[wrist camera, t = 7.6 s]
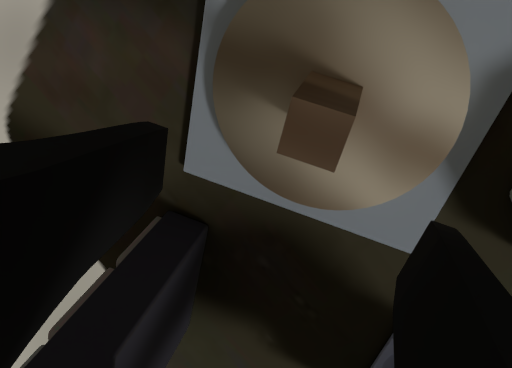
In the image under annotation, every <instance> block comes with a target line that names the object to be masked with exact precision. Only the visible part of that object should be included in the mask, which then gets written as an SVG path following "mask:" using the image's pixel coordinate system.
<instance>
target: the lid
mask: <svg viewBox="0 0 512 368" xmlns="http://www.w3.org/2000/svg"><path fill="white" fill-rule="evenodd" d="M469 98H470V69H469V62H468V56H467V52H466V49H465V46H464V43H463V39H462V37H461V35H460V33H459V31H458V29H457V27H456V25H455V22H454V21H453V19H452V18H451V16H450V15H449V13H448V12H447V11H446V9H445V8H444V6H443V5H442V4H441V3H440V2H439V1H438V0H247V1H246V2H245V3H244V4H243V6H242V7H241V8H240V9H239V10H238V12H237V13H236V15H235V16H234V18H233V19H232V21H231V22H230V24H229V26H228V28H227V30H226V32H225V34H224V36H223V38H222V41H221V43H220V46H219V49H218V52H217V56H216V61H215V65H214V73H213V101H214V107H215V113H216V116H217V120H218V124H219V127H220V129H221V132H222V134H223V137H224V139H225V141H226V143H227V144H228V146H229V148H230V150H231V152H232V153H233V154H234V156H235V157H236V159H237V160H238V161H239V163H240V164H241V165H242V166H243V167H244V168H245V170H246V171H247V172H248V173H249V174H250V175H251V176H252V177H254V178H255V179H256V180H257V181H258V182H259V183H261V184H262V185H263V186H265V187H266V188H268V189H269V190H270V191H272V192H274V193H276V194H278V195H279V196H281V197H283V198H285V199H288V200H290V201H293V202H295V203H298V204H301V205H305V206H308V207H313V208H318V209H324V210H355V209H362V208H368V207H371V206H375V205H379V204H382V203H385V202H387V201H390V200H392V199H395V198H397V197H399V196H401V195H403V194H405V193H406V192H408V191H410V190H411V189H413V188H414V187H416V186H417V185H419V184H420V183H421V182H423V181H424V180H425V179H426V178H427V177H428V176H429V175H430V174H432V173H433V172H434V171H435V170H436V169H437V167H438V166H439V165H440V164H441V163H442V162H443V160H444V159H445V158H446V156H447V155H448V153H449V152H450V150H451V149H452V147H453V146H454V144H455V142H456V140H457V138H458V136H459V134H460V132H461V130H462V127H463V124H464V121H465V117H466V114H467V111H468V104H469Z"/></svg>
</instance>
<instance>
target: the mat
mask: <svg viewBox="0 0 512 368" xmlns="http://www.w3.org/2000/svg"><path fill="white" fill-rule="evenodd" d="M246 1H247V0H206V1H205V8H204V16H203V24H202V32H201V39H200V47H199V55H198V63H197V70H196V78H195V86H194V94H193V101H192V109H191V117H190V125H189V132H188V140H187V148H186V156H185V163H184V171H185V172H187V173H190V174H193V175H196V176H198V177H201V178H204V179H207V180H209V181H212V182H215V183H218V184H220V185H223V186H226V187H229V188H231V189H234V190H237V191H240V192H242V193H245V194H248V195H251V196H253V197H256V198H259V199H262V200H264V201H267V202H270V203H273V204H275V205H278V206H281V207H284V208H286V209H289V210H292V211H295V212H298V213H300V214H303V215H306V216H309V217H311V218H314V219H317V220H320V221H322V222H325V223H328V224H331V225H333V226H336V227H339V228H342V229H344V230H347V231H350V232H353V233H355V234H358V235H361V236H364V237H366V238H369V239H372V240H375V241H377V242H380V243H383V244H386V245H388V246H391V247H394V248H397V249H399V250H402V251H405V252H408V253H410V254H411V253H412V251H413V250H414V248H415V246H416V245H417V243H418V241H419V239H420V238H421V236H422V234H423V233H424V231H425V229H426V228H427V226H428V224H429V223H430V221H431V220H432V221H434V220H435V218H436V217H437V215H438V213H439V212H440V210H441V208H442V207H443V205H444V203H445V202H446V200H447V198H448V197H449V195H450V193H451V192H452V190H453V188H454V187H455V185H456V183H457V182H458V180H459V178H460V177H461V175H462V173H463V172H464V170H465V168H466V167H467V165H468V163H469V162H470V160H471V158H472V157H473V155H474V153H475V152H476V150H477V148H478V147H479V145H480V143H481V142H482V140H483V138H484V137H485V135H486V133H487V132H488V130H489V128H490V127H491V125H492V124H493V122H494V120H495V119H496V117H497V115H498V114H499V112H500V110H501V109H502V107H503V105H504V104H505V102H506V100H507V99H508V97H509V95H510V94H511V92H512V0H438V1H439V2H440V3H441V4H442V5H443V6H444V8H445V9H446V11H447V12H448V13H449V15H450V16H451V18H452V19H453V21H454V22H455V25H456V27H457V29H458V31H459V33H460V35H461V37H462V39H463V43H464V46H465V49H466V52H467V56H468V62H469V69H470V98H469V104H468V111H467V114H466V117H465V121H464V124H463V127H462V130H461V132H460V134H459V136H458V138H457V140H456V142H455V144H454V146H453V147H452V149H451V150H450V152H449V153H448V155H447V156H446V158H445V159H444V160H443V162H442V163H441V164H440V165H439V166H438V167H437V169H436V170H435V171H434V172H433V173H432V174H430V175H429V176H428V177H427V178H426V179H425V180H424V181H423V182H421V183H420V184H419V185H417V186H416V187H414V188H413V189H411V190H410V191H408V192H406V193H405V194H403V195H401V196H399V197H397V198H395V199H392V200H390V201H387V202H385V203H382V204H379V205H375V206H371V207H368V208H362V209H355V210H324V209H318V208H313V207H308V206H305V205H301V204H298V203H295V202H293V201H290V200H288V199H285V198H283V197H281V196H279V195H278V194H276V193H274V192H272V191H270V190H269V189H268V188H266V187H265V186H263V185H262V184H261V183H259V182H258V181H257V180H256V179H255V178H254V177H252V176H251V175H250V174H249V173H248V172H247V171H246V170H245V168H244V167H243V166H242V165H241V164H240V163H239V161H238V160H237V159H236V157H235V156H234V154H233V153H232V152H231V150H230V148H229V146H228V144H227V143H226V141H225V139H224V137H223V134H222V132H221V129H220V127H219V124H218V120H217V116H216V113H215V107H214V101H213V73H214V65H215V61H216V56H217V52H218V49H219V46H220V43H221V41H222V38H223V36H224V34H225V32H226V30H227V28H228V26H229V24H230V22H231V21H232V19H233V18H234V16H235V15H236V13H237V12H238V10H239V9H240V8H241V7H242V6H243V4H244V3H245V2H246Z"/></svg>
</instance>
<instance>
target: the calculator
mask: <svg viewBox="0 0 512 368" xmlns="http://www.w3.org/2000/svg"><path fill="white" fill-rule="evenodd" d="M207 233H208V226H207V225H205V224H203V223H201V222H198V221H195V220H193V219H190V218H188V217H185V216H183V215H180V214H177V213H175V212H172V211H168V212H167V213H166V214H165V215H164V216H163V217H162V218H161V217H158V216H157V217H156V218H155V219H154V220H153V221H152V222H151V223H150V224H149V225H148V226H147V227H146V228H145V229H144V230H143V232H142V233H141V234H140V235H139V236H138V237H137V238H136V239H135V240H134V241H133V242H132V243H131V244H130V245H129V246H128V247H127V249H126V250H125V251H124V252H123V253H122V254H121V255H120V256H119V257H118V259H117V261H116V268H115V269H113V268H108V269H107V270H106V271H105V272H104V273H103V274H102V275H101V276H100V277H99V278H98V279H97V280H96V282H95V283H94V284H93V285H92V286H91V287H90V288H89V289H88V290H87V291H86V292H85V293H84V294H83V295H82V296H81V297H80V299H79V300H78V301H77V302H76V303H75V304H74V305H73V306H72V307H71V308H70V309H69V310H68V311H67V312H66V313H65V315H63V317H62V318H61V319H60V320H59V321H58V322H57V323H56V324H55V325H54V326H53V327H52V329H51V330H50V331H49V334H48V339H49V341H48V342H47V343H46V344H45V345H41V346H40V347H39V348H38V349H37V350H36V351H35V352H34V353H33V354H32V355H31V356H30V357H29V359H28V360H27V361H26V362H25V363H24V364H23V365H22V366H21V367H20V368H165V367H166V365H167V364H168V362H169V360H170V358H171V357H172V355H173V353H174V351H175V350H176V348H177V346H178V344H179V342H180V341H181V339H182V337H183V335H184V334H185V332H186V330H187V328H188V326H189V323H190V318H191V313H192V308H193V303H194V298H195V293H196V288H197V283H198V278H199V273H200V268H201V263H202V258H203V253H204V248H205V243H206V238H207Z"/></svg>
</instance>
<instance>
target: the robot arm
mask: <svg viewBox="0 0 512 368" xmlns="http://www.w3.org/2000/svg"><path fill="white" fill-rule="evenodd" d="M167 134H168V128H165V127H162V126H160V125H157V124H154V123H151V122H137V123H130V124H124V125H118V126H113V127H108V128H102V129H97V130H92V131H86V132H81V133H75V134H69V135H63V136H56V137H50V138H43V139H37V140H29V141H20V142H11V143H0V368H11V367H12V365H13V364H14V362H15V361H16V360H17V358H18V357H19V356H20V354H21V353H22V351H23V350H24V349H25V347H26V346H27V345H28V343H29V342H30V341H31V339H32V338H33V337H34V335H35V334H36V333H37V332H38V330H39V329H40V328H41V326H42V325H43V324H44V323H45V321H46V320H47V319H48V317H49V316H50V315H51V313H52V312H53V311H54V310H55V308H56V307H57V306H58V304H59V303H60V302H61V301H62V300H63V299H64V297H65V296H66V295H67V294H68V292H69V291H70V290H71V289H72V288H73V286H74V285H75V284H76V283H77V281H78V280H79V279H80V278H81V277H82V276H83V275H84V274H85V273H86V272H87V271H88V270H89V268H90V267H91V266H93V265H94V264H95V263H96V262H97V261H98V260H99V259H100V258H101V257H102V256H103V255H104V254H105V253H106V252H107V251H108V250H109V249H110V248H111V247H112V246H113V245H114V244H115V243H116V242H117V241H118V240H119V239H120V238H121V237H122V236H123V235H124V234H125V233H126V232H127V231H128V230H129V229H130V228H131V227H132V226H133V225H134V224H135V223H136V222H137V221H138V220H139V219H140V218H141V217H142V216H143V215H144V213H145V212H146V211H147V209H148V208H149V207H150V206H151V204H152V203H153V202H154V200H155V199H156V197H157V196H158V195H159V193H160V192H161V190H162V186H163V176H164V165H165V155H166V145H167ZM370 368H512V296H511V295H510V294H509V293H508V291H507V290H506V289H505V288H504V287H503V285H502V284H501V283H500V282H499V280H498V279H497V278H496V277H495V275H494V274H493V273H492V272H491V270H490V269H489V268H488V267H487V265H486V264H485V263H484V262H483V260H482V259H481V258H480V256H479V255H478V254H477V253H476V251H475V250H474V249H473V248H472V246H471V245H470V244H469V243H468V242H467V240H466V239H465V238H464V237H463V236H462V235H461V233H460V232H459V231H458V230H457V229H455V228H452V227H449V226H446V225H444V224H441V223H438V222H435V221H432V220H431V221H430V223H429V224H428V226H427V228H426V229H425V231H424V233H423V234H422V236H421V238H420V239H419V241H418V243H417V245H416V246H415V248H414V250H413V251H412V253H411V255H410V256H409V258H408V260H407V261H406V263H405V265H404V266H403V268H402V270H401V271H400V273H399V275H398V276H397V281H396V288H395V296H394V305H393V334H392V335H391V337H390V338H389V340H388V341H387V343H386V345H385V346H384V348H383V349H382V351H381V352H380V354H379V355H378V357H377V358H376V360H375V361H374V363H373V364H372V366H371V367H370Z"/></svg>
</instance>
